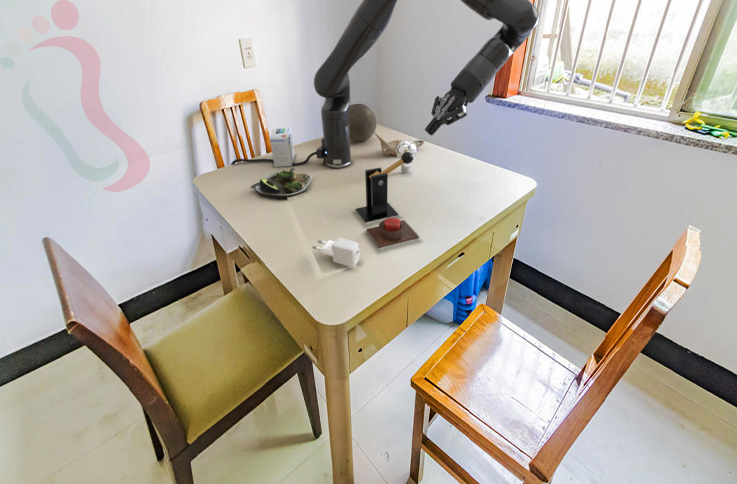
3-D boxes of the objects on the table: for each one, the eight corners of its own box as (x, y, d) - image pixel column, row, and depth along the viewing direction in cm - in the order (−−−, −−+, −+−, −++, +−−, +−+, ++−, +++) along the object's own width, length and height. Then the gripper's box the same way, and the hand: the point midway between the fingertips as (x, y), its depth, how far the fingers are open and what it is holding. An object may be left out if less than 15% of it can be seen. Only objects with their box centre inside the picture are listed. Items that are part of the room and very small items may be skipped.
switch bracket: (387, 205, 112) (387, 163, 104) (398, 218, 106) (399, 174, 98) (355, 212, 109) (353, 169, 101) (365, 225, 103) (364, 181, 95)
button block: (403, 224, 103) (404, 213, 101) (418, 241, 96) (419, 229, 94) (366, 233, 99) (366, 222, 97) (379, 251, 93) (379, 239, 91)
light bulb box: (277, 156, 145) (272, 128, 139) (295, 155, 145) (291, 127, 139) (274, 167, 136) (269, 138, 130) (292, 166, 137) (288, 137, 130)
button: (396, 221, 98) (396, 216, 97) (402, 229, 95) (402, 223, 94) (382, 225, 97) (382, 219, 96) (388, 233, 94) (388, 227, 93)
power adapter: (311, 260, 90) (308, 240, 87) (321, 249, 94) (319, 230, 91) (353, 272, 87) (351, 251, 83) (361, 260, 90) (361, 240, 87)
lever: (411, 157, 103) (407, 147, 101) (416, 161, 101) (412, 151, 98) (372, 183, 103) (367, 174, 101) (376, 188, 100) (371, 179, 98)
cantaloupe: (351, 134, 163) (349, 98, 155) (381, 138, 158) (381, 101, 150) (336, 145, 153) (333, 107, 144) (368, 149, 148) (367, 111, 139)
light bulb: (415, 169, 132) (417, 136, 125) (415, 178, 126) (417, 144, 119) (396, 169, 132) (396, 136, 125) (395, 178, 127) (395, 143, 120)
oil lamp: (370, 154, 144) (369, 128, 138) (417, 144, 151) (419, 119, 146) (380, 162, 138) (380, 135, 132) (429, 151, 145) (431, 126, 139)
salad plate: (273, 170, 134) (271, 158, 131) (320, 175, 130) (319, 162, 127) (246, 196, 118) (243, 183, 116) (298, 201, 115) (296, 188, 112)
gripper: (451, 64, 98) (407, 117, 102) (482, 73, 88) (432, 132, 92) (466, 83, 103) (423, 133, 106) (496, 94, 93) (448, 149, 96)
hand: (428, 132), depth 99 cm, fingers closed
